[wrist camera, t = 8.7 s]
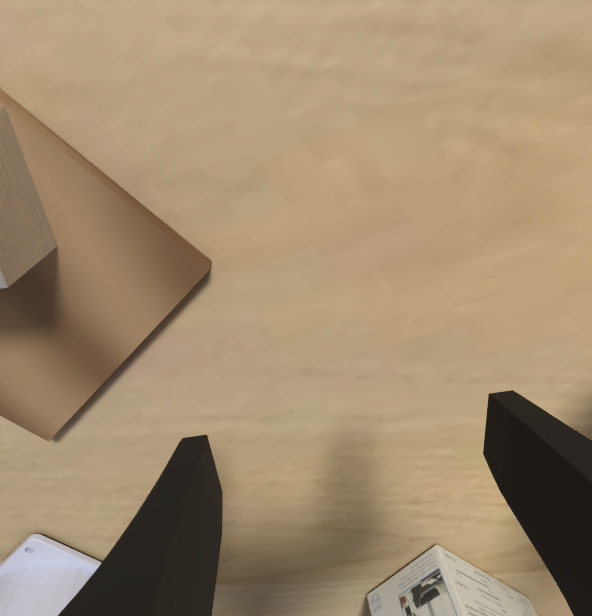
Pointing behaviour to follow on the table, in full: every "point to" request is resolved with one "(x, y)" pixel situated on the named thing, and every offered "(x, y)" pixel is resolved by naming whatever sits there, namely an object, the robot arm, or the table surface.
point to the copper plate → (82, 284)
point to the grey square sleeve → (19, 211)
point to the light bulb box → (446, 590)
